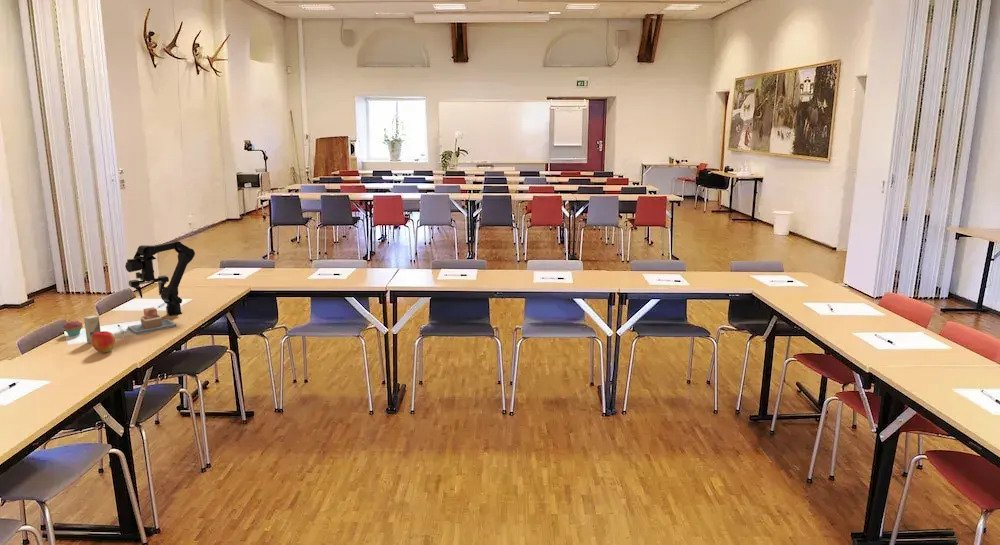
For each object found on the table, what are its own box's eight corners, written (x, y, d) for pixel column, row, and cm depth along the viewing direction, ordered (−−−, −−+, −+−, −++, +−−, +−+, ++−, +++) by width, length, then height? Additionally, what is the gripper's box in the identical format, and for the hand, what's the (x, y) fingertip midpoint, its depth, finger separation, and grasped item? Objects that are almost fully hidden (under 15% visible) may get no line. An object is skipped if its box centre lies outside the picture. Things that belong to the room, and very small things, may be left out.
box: (91, 344, 323) (87, 318, 320) (86, 342, 325) (83, 317, 323) (102, 341, 327) (99, 316, 325) (97, 339, 330) (94, 314, 327)
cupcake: (74, 338, 332) (70, 315, 330) (60, 337, 334) (56, 314, 331) (87, 332, 341) (84, 310, 338) (73, 331, 342) (70, 309, 340)
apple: (105, 355, 307) (102, 335, 304) (88, 354, 308) (85, 334, 306) (121, 349, 316) (118, 329, 314) (104, 347, 318) (101, 327, 315)
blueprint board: (168, 320, 361) (166, 310, 360) (176, 326, 351) (175, 315, 350) (127, 328, 348) (126, 317, 346) (135, 334, 338) (133, 323, 336)
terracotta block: (154, 316, 352) (153, 307, 351) (157, 318, 348) (156, 309, 347) (144, 318, 348) (143, 309, 347) (147, 320, 345) (146, 310, 344)
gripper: (161, 263, 369) (164, 291, 372) (124, 268, 357) (127, 296, 360) (167, 267, 361) (170, 294, 364) (129, 272, 349) (133, 300, 352)
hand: (150, 296), depth 360 cm, fingers open, 9 cm apart
